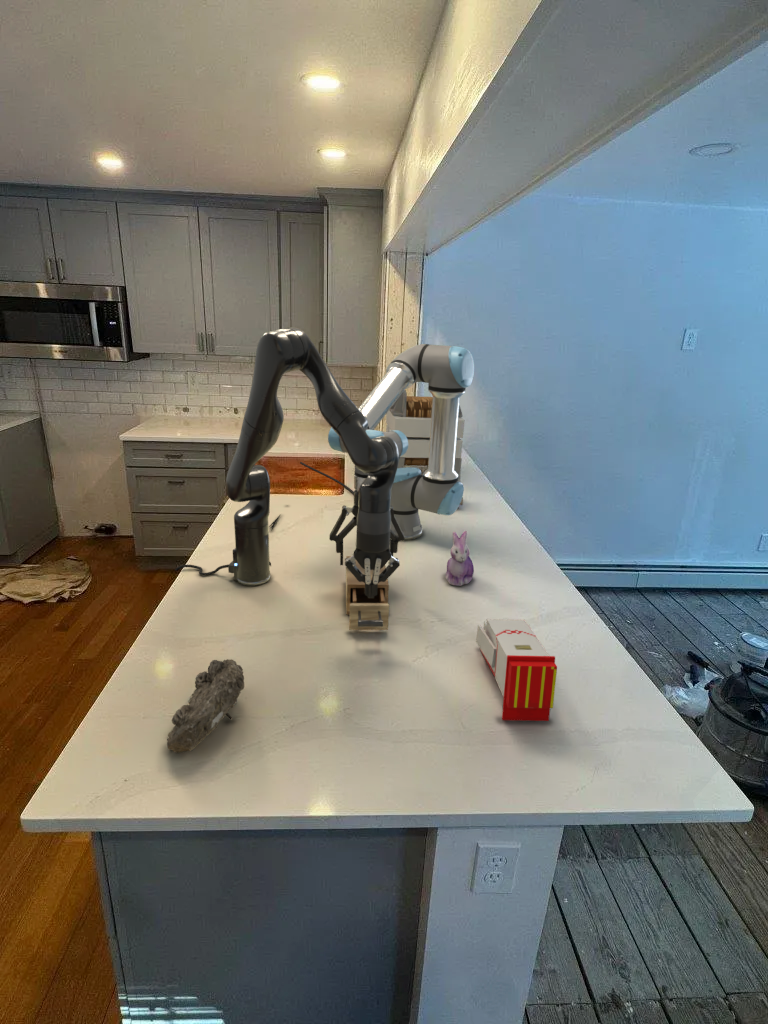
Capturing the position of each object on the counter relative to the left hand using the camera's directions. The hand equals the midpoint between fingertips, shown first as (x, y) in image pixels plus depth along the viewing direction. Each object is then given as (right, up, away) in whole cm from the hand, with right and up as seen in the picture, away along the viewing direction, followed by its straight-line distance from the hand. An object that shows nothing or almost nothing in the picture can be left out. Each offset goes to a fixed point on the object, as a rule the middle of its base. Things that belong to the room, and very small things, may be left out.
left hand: (370, 596), depth 131 cm
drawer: (-1, -7, +11) cm, 14 cm away
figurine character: (+31, +22, +101) cm, 108 cm away
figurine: (+25, 0, +36) cm, 44 cm away
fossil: (-30, -20, -23) cm, 42 cm away
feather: (-36, +17, +78) cm, 88 cm away
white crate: (+20, +38, +144) cm, 150 cm away
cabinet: (-2, -4, +23) cm, 24 cm away
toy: (+30, -17, -8) cm, 35 cm away
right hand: (-2, +6, +25) cm, 25 cm away
